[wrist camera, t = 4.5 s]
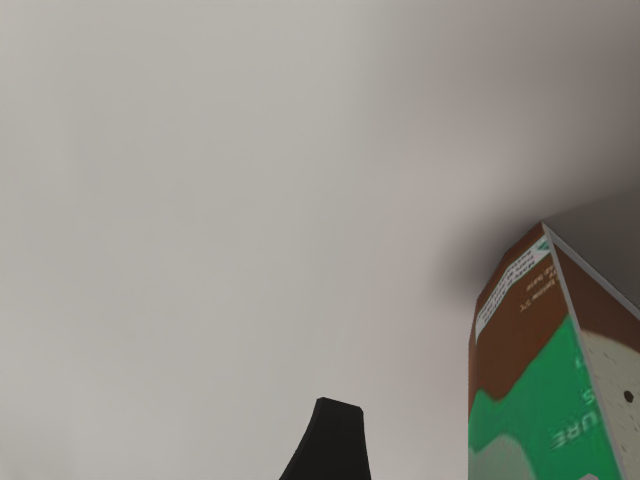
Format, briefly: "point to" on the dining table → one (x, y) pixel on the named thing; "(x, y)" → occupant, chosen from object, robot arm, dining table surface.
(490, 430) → the food container
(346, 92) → the dining table surface
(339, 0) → the dining table surface
